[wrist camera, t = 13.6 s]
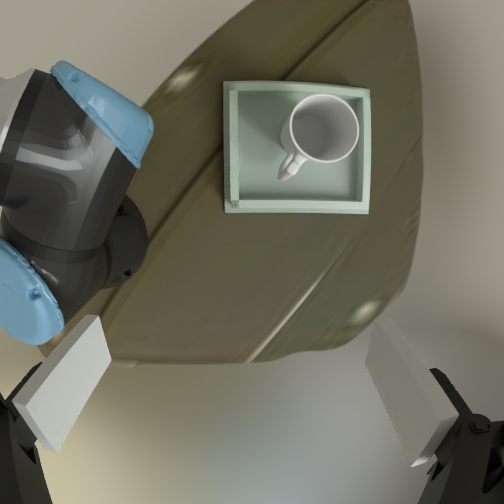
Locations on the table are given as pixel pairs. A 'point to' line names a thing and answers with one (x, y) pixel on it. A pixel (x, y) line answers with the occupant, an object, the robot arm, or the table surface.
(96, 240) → the robot arm
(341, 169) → the tray
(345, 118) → the mug
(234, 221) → the table surface
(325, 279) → the table surface
